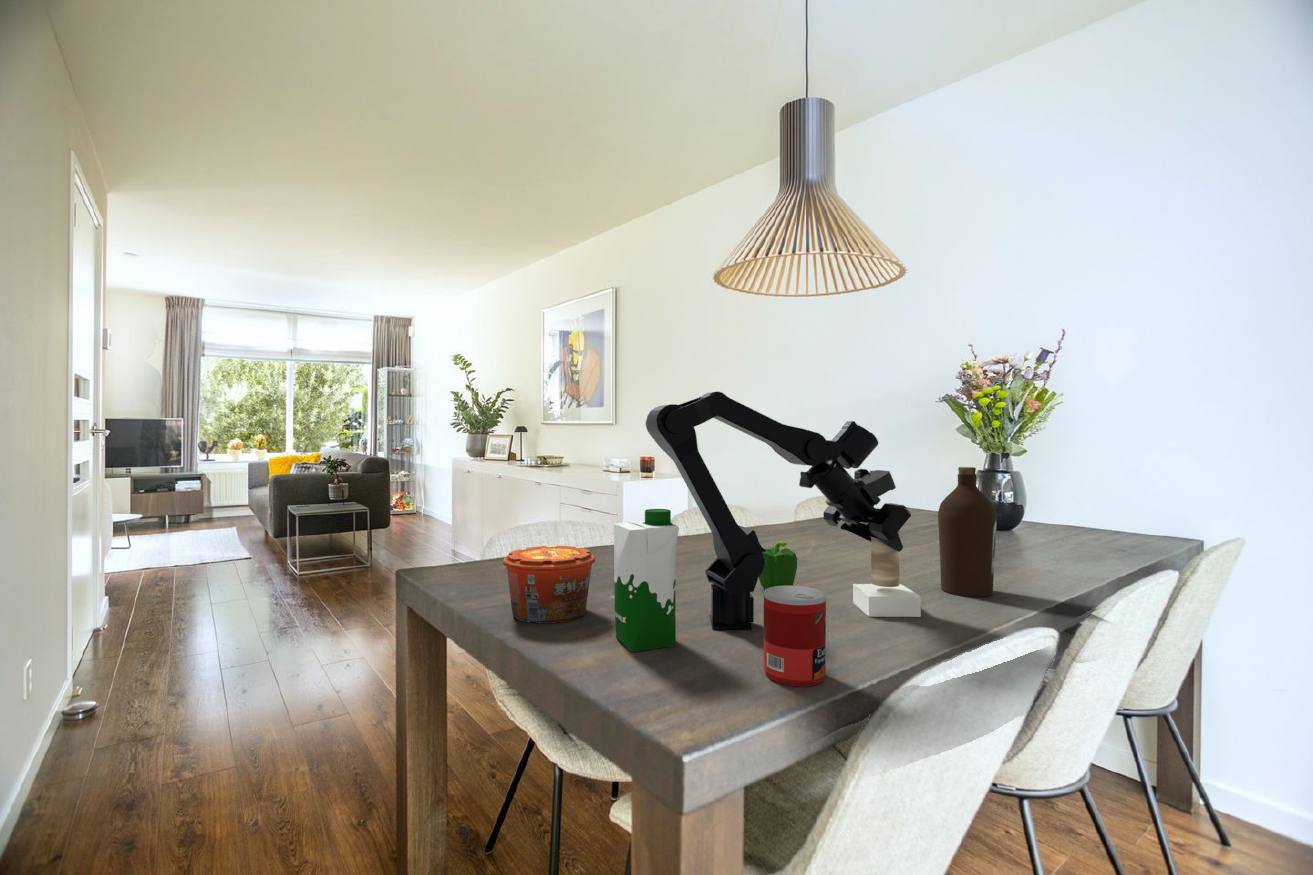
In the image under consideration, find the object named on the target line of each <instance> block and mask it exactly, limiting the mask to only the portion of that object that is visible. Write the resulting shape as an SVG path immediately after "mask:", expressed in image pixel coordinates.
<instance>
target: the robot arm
mask: <svg viewBox="0 0 1313 875" xmlns="http://www.w3.org/2000/svg"><path fill="white" fill-rule="evenodd" d="M711 419H715V420H717V421H719V422H721V423H723V424H725V425H728V426H730V427H732V428H734V429H736V430H738V431H740V432H742V433H744V434H747V435H748V436H751V437H753V438H755V439H757V440H759V441H760V442H763V443H765V444H766V445H768V446H769V447H770V448H771V449H773V451H774V452H775V453H776V454H777V455H779V456H780V457H781V458H782V459H784V460H785V461H787V462H788V463H790V464H793V465H799V466H808V467H809V466H810V467H809V469H808V470H807V471H800V477H799V485H798V486H799V487H801V488H807V489H812V488H814V486H815V487H816V488H817V489H818V490H819V491H820V493H821V494H822V495H823V496H824V497H825V498H826V499H825V501H824V503H825V504H826V505H827V507H826V508H825V510H823V520H824V521H825V523H827V525H829V526H831V527H836V528H837V527H838V526H839V525H840V524H841V525H840V529H841V530H842V531H845V532H847V533H849V534H852V535H854V536H857V537H858V538H861V539H863V540H864V541H867V542H870V543H871V538H873V539H875V540H877V541H879V542H881V543H883V544H885V545H887V546H889V547H890V548H892V549H894V550H896V551H899V553H900V552H901V551H903V548H904V545H903V543H902V540H901V538H900V537H899V534H898V531H899V530H901V529H902V528H903V526H904V525H905V524H906V522H908V520H909V519H910V518H911V517H912V512H911V511H910V510H909V509H908V508H907V507H906V506H905V505H904V504H898V503H891V502H888V503H886V502H884V503H883V505H882V506H881V508H876V507H875V506H877V505H878V504H879V503H880V502H881V501H882V500H881V498H880V497H881V496H882V495H884V494H886V493H888V492H889V491H893V490H895V489H896V488H897V486H896V484H895V482H894V479H893V476H892V474H891V471H890V470H883V469H882V470H880V469H876V470H875V469H874V470H870V471H869V470H868V469H867V468H859V467H861V465H863V463H864V462H865V461H866V459H867V458H868V457H869V456H870V455H871V453H872V452H873V451H874V450H876V448H877V447H878V445H879V439H878V438H877V436H876V435H875V434H874V433H873V432H870V431H869V430H868V429H866V427H865V428H864V427H863V426H861V425H859V424H858V423H856V422H855V421H854V420H849V421H846V422H844V424H843V425H842V427H841V429H840V430H839V431H838V432H837V434H836V435H835V436H834V437H833V438H832V439H831V440H829V439H828V440H827V439H826V438H825V436H824V435H822V434H821V433H820V432H815V431H812V430H809V429H805V428H802V427H797V426H791V425H788V424H783V423H781V422H779V421H777V420H775V419H773V418H772V417H769V416H767V415H765V414H763V413H761V412H759V411H757V410H755V409H753V408H751V407H749V406H747V405H745V404H743V403H740V402H738V401H737V400H736V399H732V398H730V397H728V395H726V394H725V393H723V392H722V391H713V392H712V391H711V392H706V393H704V394H703V395H702V396H699V397H696V398H693V399H691V400H688V401H686V402H682V403H679V404H676V403H675V404H673V403H672V404H665V405H658V406H656V407H653V408H652V409H651V410H650V411H649V413H648V415H647V416H646V419H645V427H646V428H645V429H646V432H648V434H649V435H650V436H651V438H652V439H653V440H654V442H655V443H656V444H657V446H658V447H659V448H660V449H661V450H662V451H663V453H665V454H666V455H667V456H668V457H669V458H670V459H671V461H673V463H674V465H675V466H676V469H677V470H678V472H679V473H680V476H681V477H682V479H683V481H684V483H685V484H686V487H687V488H688V490H689V492H690V495H691V496H692V498H693V500H694V502H695V503H696V505H697V507H698V509H699V511H700V513H701V515H702V516H703V518H704V520H705V522H706V524H707V526H708V527H709V530H710V531H711V535H712V542H713V549H714V551H715V555H716V558H715V559H714V561H712V562H711V563H710V564H709V566H708V567H707V568H706V569H705V571H704V574H705V576H706V579H707V581H708V582H709V583H711V584H710V614H709V621H710V625H711V628H712V629H714V630H752V629H753V625H752V623H754V620H755V608H754V607H755V602H754V601H755V598H754V596H753V595H752V594H751V593H753V592H754V591H755V589H756V586H757V583H758V580H759V576H760V575H761V573H762V571H763V569H764V565H765V564H766V562H765V557H764V555H763V553H762V552H766V550H765V549H766V548H764V547H763V546H762V545H761V544H760V542H759V538H758V535H757V533H756V531H755V529H752V528H751V529H750V528H748V527H745V526H743V525H738V523H737V520H736V519H735V517H734V516H733V514H732V512H731V510H730V508H729V506H728V505H727V503H726V501H725V498H724V497H723V495H722V493H721V492H720V489H719V488H718V485H717V484H716V481H715V480H714V478H713V476H712V474H711V472H710V470H709V468H708V466H707V465H706V463H705V461H704V459H703V457H702V455H701V453H700V451H699V447H698V438H697V432H696V430H695V427H697V426H700V425H702V424H703V423H706V422H708V421H710V420H711ZM851 468H852V469H856V470H855V471H854V477H852V476H851V474H850V473H849V472H848V471H847V470H848V469H849V470H850V469H851ZM858 468H859V469H858ZM839 522H840V524H839ZM871 532H872V533H871Z"/></svg>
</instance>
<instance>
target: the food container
mask: <svg viewBox="0 0 1313 875" xmlns="http://www.w3.org/2000/svg"><path fill="white" fill-rule="evenodd" d="M595 562H596V557H595V555H593V553H591V550H589V549H587V548H583V547H579V548H577V547H576V546H570V545H556V546H546V545H543V546H542V545H541V546H531V547H526V548H525V549H520V548H519V549H515V550H512V551H510V552H509V553H508V554H507V556H505V557H503V560H502V566H503V569H505V570H506V572H507V580H508V582H507V583H508V589H509V596H510V597H509V599H510V606H511V613H512V615H513V617H514V618H515V619H516V620H518V619H519V621H521V622H525V621H529V622H528V623H530V622H536V623H535V624H554V623H553V622H559V623H562V622H561V621H565V622H569V621H573V620H575V619H578V618H581V617H583V616H584V615H585V614H586V610H587V604H588V596H589V587H590V582H591V581H590V580H591V574H592V565H593V564H594V563H595ZM537 622H538V623H537ZM539 622H540V623H539Z"/></svg>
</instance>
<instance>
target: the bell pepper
mask: <svg viewBox="0 0 1313 875" xmlns="http://www.w3.org/2000/svg"><path fill="white" fill-rule="evenodd" d="M787 543H788V542H785V541H784V540H779V541H777V542H776V543H775V545H774V547H770V548H764V549H765V550H766V552H762V553H763V555H764V557H765V562H766V564H765V565H764V569H763V571H762V573H761V575H760V576H759V577H758V580H759V583H760V585H761V587H762V589H763V588H764V590H765V589H767V588H770V587H774V586H794V583H795V579H796V575H797V570H798V557H797V554H796V552H794V551H792V550H791V549H790V548H787V547H786V546H787V545H788V544H787ZM780 547H783V548H782V549H781V548H780Z"/></svg>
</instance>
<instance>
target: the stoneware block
mask: <svg viewBox="0 0 1313 875" xmlns="http://www.w3.org/2000/svg"><path fill="white" fill-rule="evenodd" d="M852 603H853V604H854V605H855V606H856V607H857V608H858V609H859V610H861V611H862V612H863V613H864V614H865V615H867V617H871V618H873V617H875V618H877V617H880V618H881V617H884V618H885V617H888V618H889V617H890V618H891V617H893V618H894V617H896V618H898V617H899V618H901V617H902V618H903V617H904V618H906V617H909V618H911V617H912V618H913V617H914V618H915V617H916V618H917V617H918V618H921V617H922V597H921V595H919V594H918V593H916V592H914V591H913V590H911V589H910V588H909V587H907V586H905V585H903V584H901V583H899V586H897V587H882V586H876V585H873V584H872V583H853V584H852Z"/></svg>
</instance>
